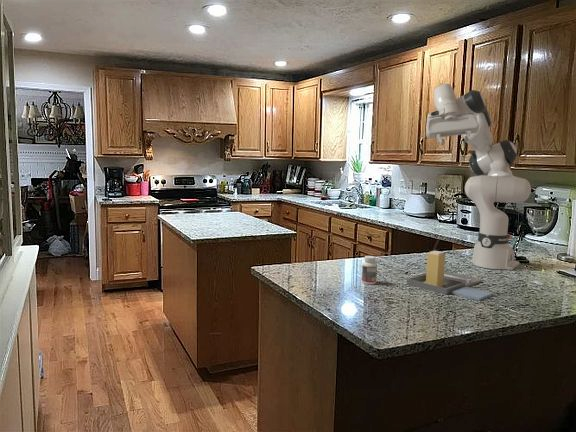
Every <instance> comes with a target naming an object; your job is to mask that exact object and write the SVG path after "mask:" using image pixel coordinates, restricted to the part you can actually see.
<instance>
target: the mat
mask: <svg viewBox="0 0 576 432" xmlns="http://www.w3.org/2000/svg"><path fill="white" fill-rule="evenodd" d="M450 294H453V295H455V296H459V297H463V298H467V299H471V300H474V301H479V302H480V301H482V300H485V299H486V298H489V297H493V295H494V292H492V291H486V290H483V289H479V288H474V287H471V286H469V287H467V286H465V287H462V288H460V289H457V290H454V291H452V293H450Z"/></svg>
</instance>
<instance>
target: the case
mask: <svg viewBox="0 0 576 432" xmlns="http://www.w3.org/2000/svg"><path fill="white" fill-rule="evenodd" d="M424 280H425V281H426V273H424V274H420V275H416V276H412V277H409V278H407V279H406V285H409V286H411V287H412V286H413V287H417V288H419V289H424V290H427V291H431V292H436V293H438V294H443V295H449V294H451V293H452V291H454V290H457V289H460V288H462V287H465V286H467V287H471V286H475V285H477V284H479V283H482V282H483V279H481V278H478V277H477V278H476V277H471V276H468V275H464V274H459V273H454V272H449V271H445V270H444V282H443V284H446V285H450V286H449V287H444V286H442V287H439V286H435V285H431V284H427V283H426V282H422V281H424Z"/></svg>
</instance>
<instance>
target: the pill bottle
mask: <svg viewBox="0 0 576 432" xmlns="http://www.w3.org/2000/svg"><path fill="white" fill-rule="evenodd" d="M363 260H364V261H363V262H362V264H361V265H362V266H361V282H362V283H363V284H364V285H375V284H376V283H377V278H378V277H377V275H378V264H377V262H376V256H373V255H365V256H364V259H363Z"/></svg>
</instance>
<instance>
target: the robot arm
mask: <svg viewBox="0 0 576 432" xmlns="http://www.w3.org/2000/svg"><path fill="white" fill-rule="evenodd" d="M433 104H434V107H435V110H433V111H431V112H429V113H428V114H427V117H426V124H425V125H426V126H425V127H426V128H425V136H426V138H427V139H429V140H430V139H436V140H437V142H439V143H440V145H441V146H442V145H443V146H444V145H445V144H446V143H445V137H453V136H462V138H463V140H464V143H466V144H468V145H469V146H470V147H472V148H473V149H474V151H472V152H471V155H470V157H469V159H468V166H469V168H470V171H471V172H472V173H473V174H474V175H475V176H470V177H469V178H468V179H467V181H466V182H465V185H464V193H465V195H466V197H467V198H469V199H470V201H472V203H474V205H475V206H476V208H477V210H478V213H479V232H478V235H477V242H476V243H475V244H474V247H473V248H474V249H473V255H472V258H470V259H469V262H470V263H472V265H474V266H476V267H479V268H484V269H492V270H511V271H513V270H514V269H516V268H517V267H518V266H519V265H520V261H518V260H515V250H514V249H513V248H512V246H511V245H510V244H509V243H510V240H511V238H512V234H510V233H508V230H509V221H510V220H509V217H508V215H507V214H506V213H505V212H504V211H503V210H501V209H498V208H496V207H495V204H494V203H508V204H509V203H511V204H514V203H523V202H525V201H527V200H528V199H529V198H530V195H531V192H532V188H531V183H530V181H529V180H528V179H526V178H522V177H519V176H515V175H513V172H512V170H511V169H510V166H511V165H514V163H515V161H516V158H517V157H518V156H517V155H518V151H517V146H516V145H515V144H514V143H513V142H512V141H511V140H509V139H504V140H501V141H499V142H498V143H497V142H496V143H495V144H493V143H494V138H493V134H492V131H490V129H489V128H490V127H491V126H492V121H491V118H490V114H489V111H488V108H487V106H486V100H485V97H484V95H483V94H482V92H481V91H478V90H476V89H471V90H469V91H468V92H466V93H465V94H463V95H461V96H460V97H457V96H456V92H455V91H454V88H453V87H452V85H451V84H449V83H442V84H440V85H438V86H437V87H435V88H434V90H433ZM492 144H493V145H492ZM486 174H487V175H486Z"/></svg>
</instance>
